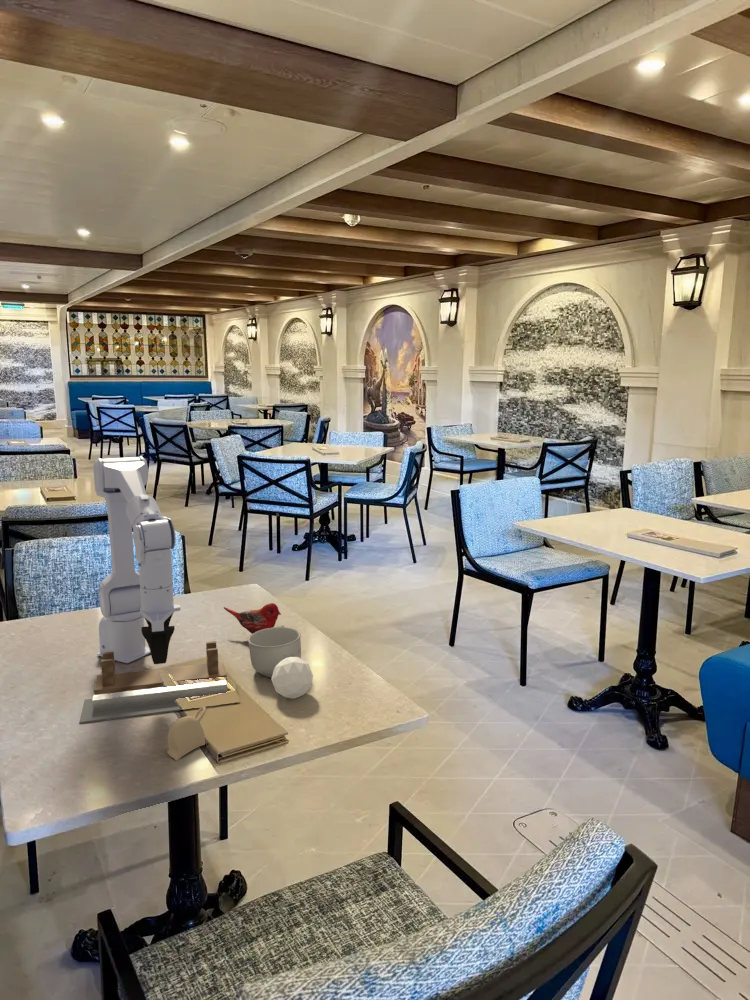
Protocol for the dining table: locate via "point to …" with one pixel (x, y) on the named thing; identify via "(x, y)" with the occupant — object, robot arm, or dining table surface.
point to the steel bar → (156, 695)
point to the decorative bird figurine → (257, 617)
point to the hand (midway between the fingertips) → (159, 655)
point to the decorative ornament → (186, 735)
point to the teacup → (273, 647)
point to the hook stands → (155, 674)
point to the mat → (124, 711)
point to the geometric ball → (292, 677)
